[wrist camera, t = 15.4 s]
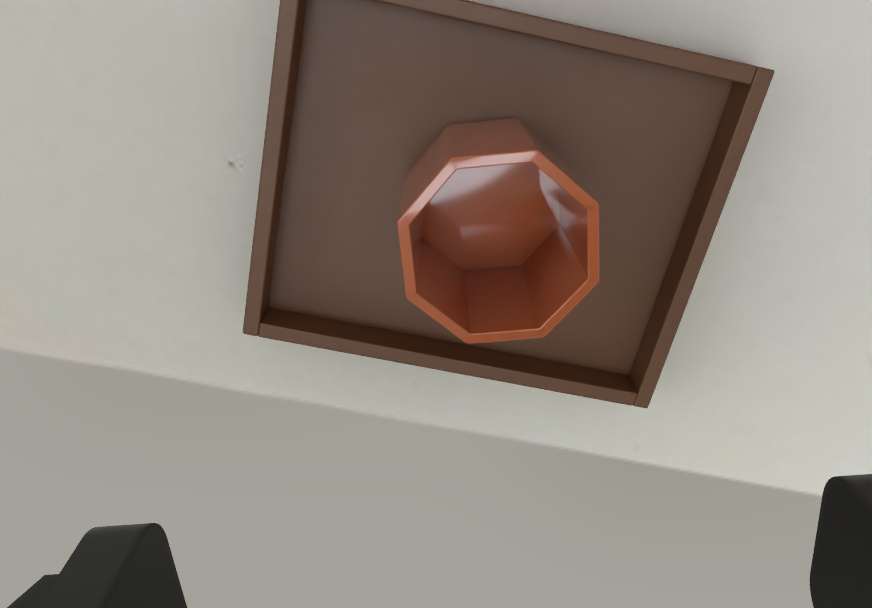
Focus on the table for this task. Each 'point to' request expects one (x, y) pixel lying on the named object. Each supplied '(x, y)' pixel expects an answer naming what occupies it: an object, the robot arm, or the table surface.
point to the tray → (472, 102)
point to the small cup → (496, 233)
